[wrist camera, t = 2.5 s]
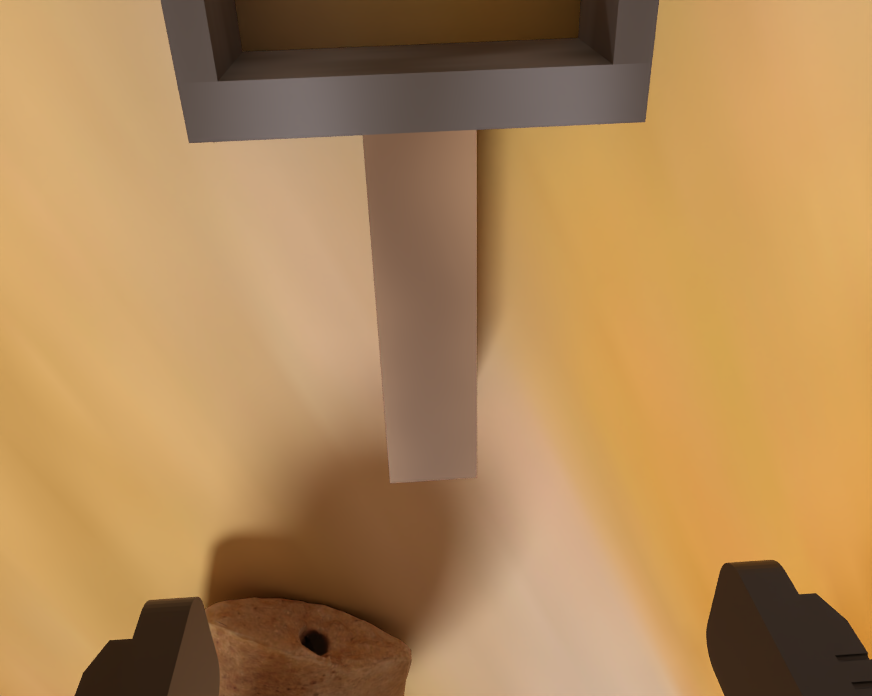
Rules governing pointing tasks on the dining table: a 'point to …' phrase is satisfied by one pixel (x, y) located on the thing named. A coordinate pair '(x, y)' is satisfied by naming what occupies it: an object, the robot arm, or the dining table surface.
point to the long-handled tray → (416, 171)
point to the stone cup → (303, 651)
